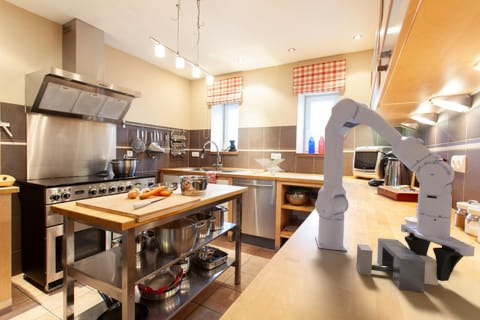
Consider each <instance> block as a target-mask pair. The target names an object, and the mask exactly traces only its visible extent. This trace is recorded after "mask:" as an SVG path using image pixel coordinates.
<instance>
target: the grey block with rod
mask: <svg viewBox="0 0 480 320" xmlns="http://www.w3.org/2000/svg"><path fill="white" fill-rule="evenodd" d="M356 246H357V248H356V249H357V250H356V263H355V264H356V269H357V271H358V274H359V275H363V276H364V275H365V276H372V271H375V272H383V273H392V274H393V267H387V266H380V265H379V264H378V265H376V264H373V249H372V248H371V247H370V245H369V244H363V243H360V244H359V243H357V245H356ZM418 256H419V257H420V258H422V259H423V260H424V261H425V280H424V285H432V286H439V280H438V279H437V262H436V260H434V259H432V258H431V257H430V256H429V255H427V256H420V255H418Z"/></svg>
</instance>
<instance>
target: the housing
mask: <svg viewBox="0 0 480 320" xmlns="http://www.w3.org/2000/svg"><path fill="white" fill-rule="evenodd" d="M376 258H377V261H376V263H377V264H378V266H387V267H393V273H392V283H394V285H395V286H396V287H397V289H399V290H402V291H410V292H417V293H418V292H419V293H425V284H424V280H425V261H424V260H423V259H422V258H420V257H419V256H418V255H417V254H415V253H414V252H413V251H411V250H410V249H409V246H406V245H405V244H404V243H403V242H401V241H400V240H399V239H395V238H393V239H392V238H383V237H378V238H377V257H376Z"/></svg>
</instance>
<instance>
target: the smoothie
mask: <svg viewBox="0 0 480 320" xmlns="http://www.w3.org/2000/svg"><path fill="white" fill-rule="evenodd" d="M415 206H416V207H415V217H414V216H406V217H404V222H405V224H410V225H414V226H417V214H418V203H417V204H416V205H415ZM406 235H407V236H409V235H410V233H407V232H406ZM408 248H409V247H408ZM409 249H410V248H409Z"/></svg>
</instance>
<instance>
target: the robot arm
mask: <svg viewBox="0 0 480 320" xmlns="http://www.w3.org/2000/svg"><path fill="white" fill-rule="evenodd" d="M330 113H331V115H330V116H329V119H328V122H326V123H327V124H325V128H324V144H323V145H324V150H323V151H324V153H323V154H324V155H323V185H322V186H321V188H320V189H319V190H318V191H317V199H316V201H315V203H314V207H315V211H316V213H317V214H318V232H317V233H318V235H315V237H314V238H315V241H316V244H317V247H318V249H325V250H326V249H327V250H332V251H334V250H335V251H336V250H337V251H345V252H346V251H348V248H347V247H346V244H345V243H344V235H345V232H344V231H345V213H346V212H347V211H348V210H349V200H348V198H347V192H346V191H347V190H346V189H345V187H344V186H343V176H344V175H343V171H344V137H345V134H347V133H348V132H349V131H350V130H352V129H353V128H355V127H358V126H360V125H361V124H362V125H366V126H368V127H370V128H371V130H372V131H374V132H376V134H378V135H379V136H380V137H381V138H383V139H384V140H385V141H386V142H387V143H389V144H390V145H391V154H393V155H394V156H395V157H396V158H397V159H398V160H399V161H400V162H401V163H402V164H404V165H405V167H407V168H408V170H410V171H411V172H415V178H416V180H417V182H418V183H419V185H418V186H419V187H418V189H419V190H418V191H419V192H418V193H417V194H418V195H417V205H418V214H417V226H414V225H410V224H406V223H400V225H401V226H400V231H401V232H402V233H406V234H407V233H410V235H409V236H406V235H405V236H404V241H405V243H406V244H407V247H408V248H410V250H411V251H413V252H414V253H415V254H417V255H420V256H428V252H429V248H430V245H431V243H433V244H436V245H438V246H440V247H432V250H433V253H434V257H435V262H436V263H437V279H438V281H440V282H449V280H450V277H451V275H452V272H453V270H454V269H455V267H456V265H457V264H458V263H459V262H460V261H461V260H462V259H463V258H464V257H467V258H468V257H475V246H474V245H472V244H468V243H466V242H464V241H462V240H460V239H458V238H456V237H453V236H452V235H451V227H452V226H451V224H452V206H453V205H452V204H453V203H452V201H453V199H452V198H453V196H452V192H453V188H452V184H451V183H452V182H453V180H454V179H455V170H454V168H453V167H452V166H451V164H450V163H449V162H447V161H444V160H440V159H442V156H441V155H440V154H437V153H436V154H434V153H433V152H432V151H431V150H430V149H429V148H427V147H426V145H424V142H425V141H424V140H423V139H421V138H419V137H417V138H415V137H414V136H403V134H401V132H399V131H398V130H397V129H396V128H395V127H394V126H392V125H391V123H389V121H387V120H386V119H385V118H384V117H383V116H382V115H381V114H380V113H378V112H377V111H376V110H375V109H372V108H371V107H369V106H368V105H367V104H366V103H361V102H358V101H356V100H354V99H352V98H349V97H347V98H342V99H340V100H339V101H338V102H336V104H334V106H332V107H331V112H330Z"/></svg>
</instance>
